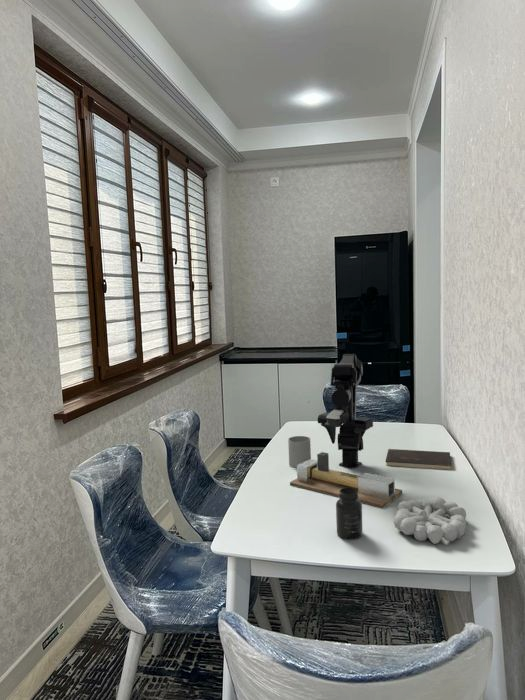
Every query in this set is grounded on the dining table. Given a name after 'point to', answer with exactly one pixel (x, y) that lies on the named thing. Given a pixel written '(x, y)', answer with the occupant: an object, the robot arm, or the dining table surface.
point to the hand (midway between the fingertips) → (345, 445)
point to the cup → (299, 450)
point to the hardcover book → (418, 459)
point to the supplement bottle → (349, 514)
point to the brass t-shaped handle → (332, 472)
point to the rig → (366, 482)
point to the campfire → (431, 519)
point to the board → (334, 488)
